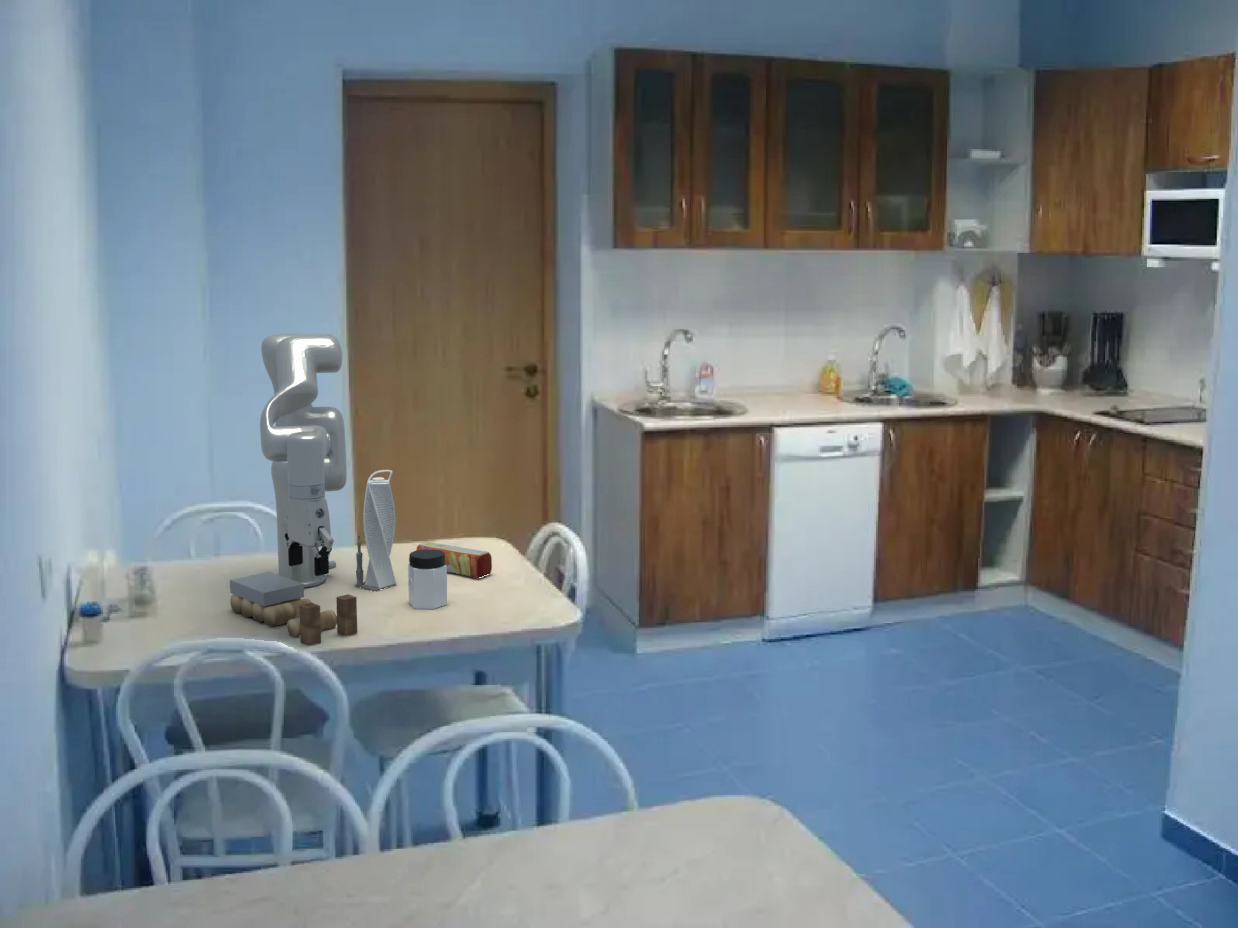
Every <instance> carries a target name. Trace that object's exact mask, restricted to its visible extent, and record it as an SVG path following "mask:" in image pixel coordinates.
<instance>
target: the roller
mask: <svg viewBox="0 0 1238 928" xmlns="http://www.w3.org/2000/svg"><path fill="white" fill-rule="evenodd" d="M320 619H321V631H324V630H327V629H332V628H335V627H337V613H336V612H335V611H334V610H333V609H328V610H324V611H320ZM286 628H287V629H286V630H287V632H288V635H289V636H290V637H293V638H297V637H300V617H299V618H295V619H291V620H289V621H288V622H287V623H286Z"/></svg>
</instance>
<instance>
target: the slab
mask: <svg viewBox="0 0 1238 928" xmlns="http://www.w3.org/2000/svg"><path fill="white" fill-rule="evenodd" d="M277 574H278V573H274V572H272V571H266V572H262V573H256V574H253V575H247V576H242V577H238V578H232V579H229V593H230V594H232V595H237V596H239V597H242V598H244V599H247V600H249V601H252V602H254V603H257V604H259V605H262V606H268V605H272V604H276V603H281V602H285V601H289V600H294V599H298V598H300V599H301V598H302V599H304V597H305V588H304V584H302V583H299V582H297V581H294V580H291V579H288V578H285V577H283V576H280V575H277Z"/></svg>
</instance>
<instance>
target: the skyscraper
mask: <svg viewBox="0 0 1238 928" xmlns="http://www.w3.org/2000/svg"><path fill="white" fill-rule="evenodd" d="M386 472H387V473H389V476H388V479H385V478H384V477H374V476H375V475H376V474H379V473H386ZM393 473H394V472H393V470H391V469H380V470H376V471H374V472H373V473H371V474H370V476H369V477H368V479H367V481H366V482H367V483H366V486H365V487H366V488H365V495H364V499H363V500H364V502H363V511H362V512H363V514H362V515H363V516H362V517H363V519H362V521H363V532H364V533H363V535H364V540H365V545H366V550H367V553H368V558H369V559H368V564H367V565H368V566H367V570H366V576H365V581H364V569H363V552H362V550H361V549H362V547H361V544H362V543H361V539H360V538H361V537H360V534H358V535H357V540H358V541H357V543H356V544H357V552H355V556H356V570H355V575H356V584H354V587H355V586H356V587H355V588H358V587H361V588H360V589H362V588H364V589H363V590H366V589H368V591H370V590H372V591H371V592H374V591H376V592H379V591H381V590H380V589H383V590H385V589H384V588H386V587H389V588H391V587H390V586H393V587H395V585H396V586H397V582H396V577H395V573H394V569H393V565H392V560H391V557H390V556H391V553H392V550H393V549H392V548H393V544H394V539H395V531H396V508H395V503H394V502H395V501H394V496H393V492H392V487H391V482H390V481H391V478H392V477H393ZM386 589H387V588H386ZM378 590H379V591H378Z"/></svg>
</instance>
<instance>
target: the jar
mask: <svg viewBox="0 0 1238 928" xmlns="http://www.w3.org/2000/svg"><path fill="white" fill-rule="evenodd" d="M408 556H409V558H408V562H409V563H408V566H407V570H408V571H407V572H408V573H407V575H408V576H407V578H408V580H407V581H408V582H407V583H408V586H407V587H408V604H409V605H410V604H411V605H410V606H411V607H412V608H413V609H415V608H416V610H417V609H419V610H420V609H421V610H435V609H439V608H441V606H442V607H443V606H444V605H445V606H447V605H448V572H447V566H446V565H445V553H444V552H443V551H440V550H431V549H426V550H417V551H416V550H414V551H411V552H410V553H409V555H408ZM446 604H447V605H446ZM438 607H439V608H438Z"/></svg>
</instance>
